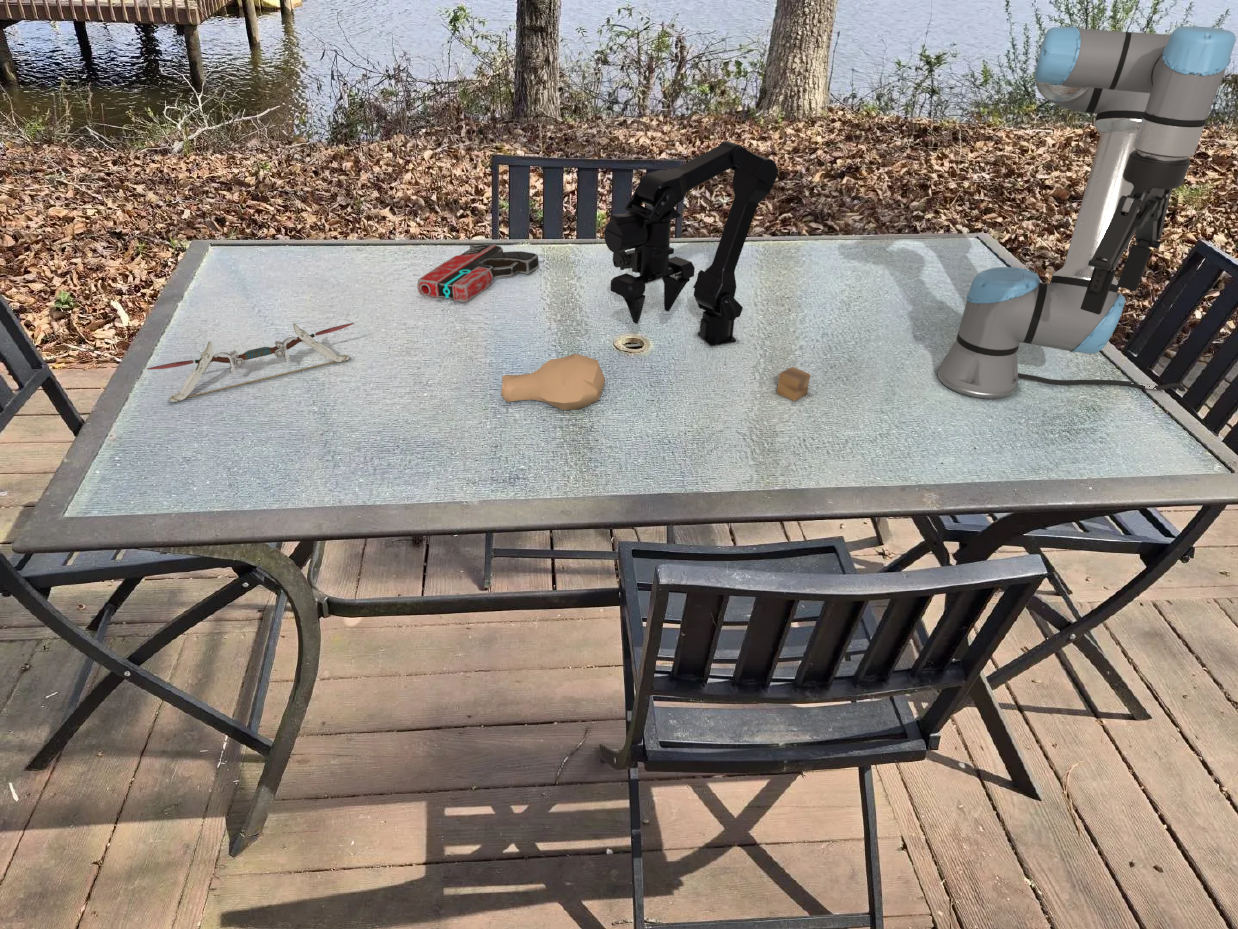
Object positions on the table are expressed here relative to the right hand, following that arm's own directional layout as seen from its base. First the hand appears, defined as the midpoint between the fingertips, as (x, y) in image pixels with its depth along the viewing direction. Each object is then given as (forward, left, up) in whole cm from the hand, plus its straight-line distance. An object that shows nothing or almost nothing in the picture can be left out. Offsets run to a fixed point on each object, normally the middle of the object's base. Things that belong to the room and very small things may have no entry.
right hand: (1109, 299), depth 132 cm
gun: (+91, -100, -33) cm, 139 cm away
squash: (+80, -38, -33) cm, 95 cm away
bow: (+136, -53, -33) cm, 149 cm away
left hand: (+58, -53, -23) cm, 82 cm away
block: (+33, -35, -33) cm, 58 cm away
